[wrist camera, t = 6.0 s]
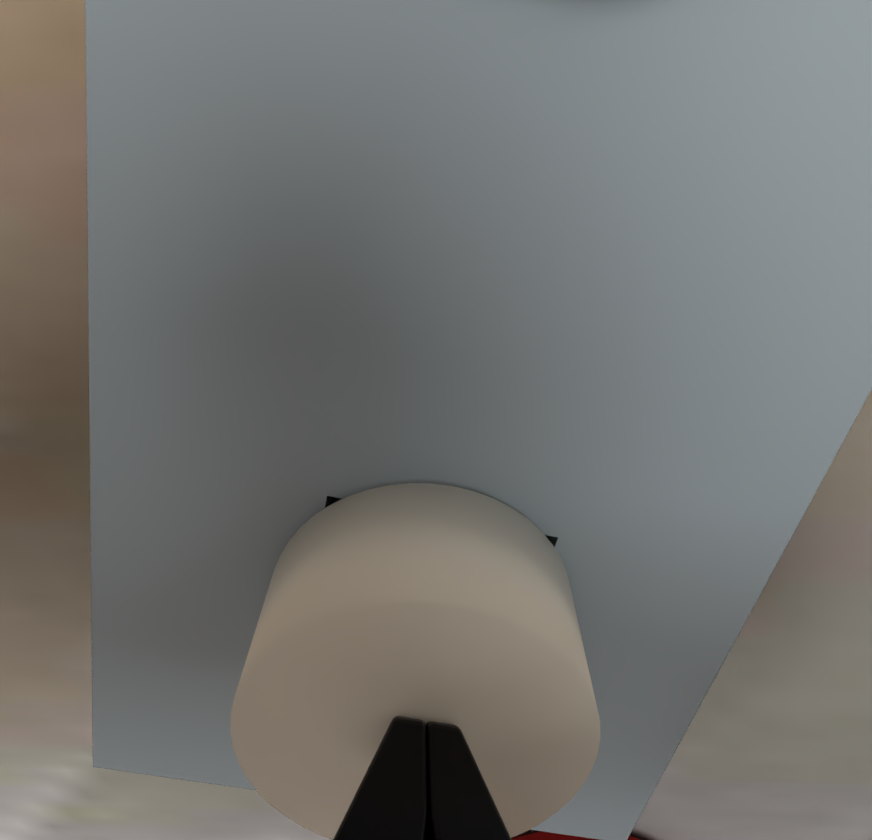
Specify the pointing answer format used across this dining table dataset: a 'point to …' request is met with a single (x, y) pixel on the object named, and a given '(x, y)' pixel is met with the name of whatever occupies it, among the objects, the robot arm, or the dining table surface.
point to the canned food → (555, 837)
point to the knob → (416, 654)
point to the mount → (466, 322)
